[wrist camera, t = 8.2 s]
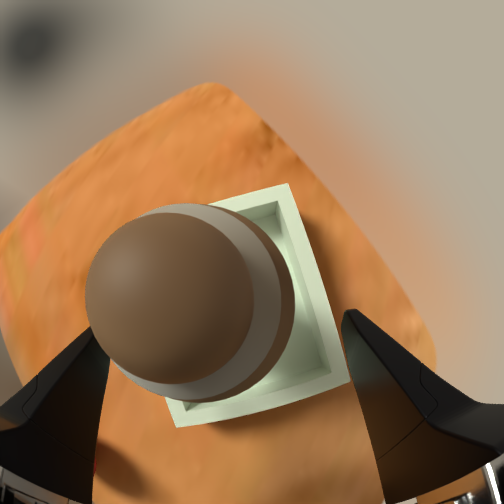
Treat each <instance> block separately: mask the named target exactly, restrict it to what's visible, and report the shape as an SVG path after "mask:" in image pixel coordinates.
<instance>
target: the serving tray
mask: <svg viewBox="0 0 504 504" xmlns="http://www.w3.org/2000/svg"><path fill="white" fill-rule="evenodd" d="M207 205H213V206H218V207H222V208H225V209H228V210H231V211H234V212H236V213H238V214H240V215H242V216H244V217H246V218H248V219H249V220H250V221H252V222H253V223H255V224H256V225H258V226H259V227H260V228H261V229H262V230H263V231H264V232H265V233H266V234H267V235H268V236H269V237H270V238H271V239H272V241H273V242H274V243H275V244H276V246H277V247H278V249H279V250H280V252H281V254H282V255H283V257H284V259H285V262H286V264H287V266H288V268H289V271H290V275H291V278H292V281H293V287H294V293H295V315H294V323H293V327H292V331H291V335H290V338H289V341H288V343H287V346H286V348H285V350H284V352H283V353H282V355H281V357H280V359H279V360H278V362H277V363H276V364H275V366H274V367H273V368H272V369H271V371H270V372H269V373H268V374H267V375H266V376H265V377H264V378H263V379H262V380H261V381H259V382H258V383H257V384H255V385H254V386H252V387H251V388H250V389H248V390H246V391H244V392H242V393H240V394H238V395H236V396H233V397H230V398H228V399H225V400H220V401H215V402H206V403H193V402H184V401H179V400H174V399H171V398H168V397H165V399H166V402H167V405H168V407H169V410H170V413H171V415H172V418H173V421H174V423H175V426H176V428H177V427H185V426H192V425H198V424H204V423H210V422H216V421H221V420H226V419H231V418H235V417H240V416H244V415H248V414H253V413H257V412H260V411H264V410H268V409H272V408H275V407H279V406H282V405H286V404H289V403H292V402H295V401H298V400H301V399H305V398H308V397H310V396H313V395H316V394H319V393H322V392H325V391H327V390H330V389H333V388H335V387H338V386H340V385H343V384H345V383H348V382H350V381H351V380H350V376H349V372H348V369H347V365H346V361H345V357H344V353H343V350H342V346H341V342H340V339H339V335H338V332H337V328H336V325H335V321H334V318H333V315H332V311H331V308H330V305H329V301H328V298H327V295H326V292H325V288H324V285H323V282H322V279H321V276H320V273H319V270H318V267H317V264H316V260H315V257H314V255H313V252H312V249H311V246H310V243H309V240H308V237H307V234H306V231H305V228H304V226H303V223H302V220H301V217H300V214H299V212H298V209H297V206H296V204H295V201H294V198H293V196H292V193H291V190H290V188H289V185H288V183H286V184H282V185H278V186H274V187H270V188H266V189H262V190H258V191H254V192H251V193H247V194H243V195H239V196H236V197H232V198H228V199H225V200H221V201H218V202H214V203H211V204H207Z"/></svg>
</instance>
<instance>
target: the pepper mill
mask: <svg viewBox="0 0 504 504" xmlns="http://www.w3.org/2000/svg"><path fill="white" fill-rule="evenodd" d="M85 303H86V311H87V316H88V320H89V323H90V326H91V329H92V331H93V333H94V336H95V338H96V339H97V341H98V343H99V344H100V346H101V347H102V349H103V350H104V351H105V353H106V354H107V355H108V356H109V357H110V358H111V360H112V361H113V362H114V363H115V365H116V366H117V367H118V368H119V369H120V370H121V371H122V372H123V373H124V374H125V375H126V376H127V377H128V378H129V379H131V380H132V381H133V382H135V383H136V384H138V385H139V386H141V387H143V388H145V389H146V390H148V391H150V392H153V393H156V394H158V395H161V396H165V397H168V398H171V399H174V400H179V401H184V402H193V403H206V402H215V401H220V400H225V399H228V398H230V397H233V396H236V395H238V394H240V393H242V392H244V391H246V390H248V389H250V388H251V387H252V386H254V385H255V384H257V383H258V382H259V381H261V380H262V379H263V378H264V377H265V376H266V375H267V374H268V373H269V372H270V371H271V369H272V368H273V367H274V366H275V364H276V363H277V362H278V360H279V359H280V357H281V355H282V353H283V352H284V350H285V348H286V346H287V343H288V341H289V338H290V335H291V331H292V327H293V323H294V315H295V293H294V287H293V281H292V278H291V275H290V271H289V268H288V266H287V264H286V262H285V259H284V257H283V255H282V254H281V252H280V250H279V249H278V247H277V246H276V244H275V243H274V242H273V241H272V239H271V238H270V237H269V236H268V235H267V234H266V233H265V232H264V231H263V230H262V229H261V228H260V227H259V226H258V225H256V224H255V223H253V222H252V221H250V220H249V219H248V218H246V217H244V216H242V215H240V214H238V213H236V212H234V211H231V210H228V209H225V208H222V207H218V206H213V205H204V204H189V203H184V204H173V205H167V206H163V207H160V208H157V209H154V210H151V211H149V212H147V213H145V214H143V215H141V216H139V217H138V218H136V219H134V220H132V221H130V222H128V223H126V224H125V225H123V226H122V227H120V228H119V229H117V230H116V231H115V232H114V233H113V234H112V235H111V236H110V237H109V238H108V239H107V240H106V241H105V242H104V243H103V245H102V246H101V248H100V249H99V250H98V252H97V254H96V255H95V257H94V259H93V261H92V264H91V266H90V269H89V272H88V276H87V281H86V288H85Z"/></svg>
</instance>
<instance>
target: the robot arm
mask: <svg viewBox="0 0 504 504" xmlns="http://www.w3.org/2000/svg"><path fill="white" fill-rule="evenodd" d="M341 332H342V337H343V342H344V347H345V351H346V356H347V361H348V366H349V370H350V373H351V376H352V379H353V382H354V386H355V389H356V392H357V395H358V399H359V402H360V405H361V408H362V412H363V415H364V419H365V422H366V426H367V429H368V433H369V436H370V440H371V444H372V448H373V451H374V455H375V459H376V464H377V468H378V472H379V476H380V480H381V484H382V489H383V493H384V498H385V502H386V504H396V503H399V502H403V501H406V500H409V499H412V498H415V497H416V499H417V503H415V504H504V404H485V403H480V402H477V401H474V400H473V399H471V398H469V397H468V396H467V395H465V394H464V393H462V392H461V391H459V390H458V389H456V388H455V387H453V386H452V385H450V384H449V383H447V382H446V381H444V380H443V379H442V378H440V377H439V376H438V375H437V374H435V373H434V372H433V371H432V370H430V369H429V368H428V367H427V366H425V365H424V364H423V363H421V361H419V360H418V359H417V358H416V357H415V356H413V355H412V354H411V353H410V352H409V351H407V350H406V349H405V348H404V347H403V346H401V345H400V344H399V343H398V342H396V341H395V340H394V339H393V338H392V337H390V336H389V335H388V334H387V333H386V332H384V331H383V330H382V329H381V328H379V327H378V326H377V325H376V324H374V323H373V322H372V321H371V320H370V319H368V318H367V317H366V316H365V315H363V314H362V313H361V312H360V311H358V310H357V309H348V310H345V312H344V315H343V320H342V324H341ZM109 365H110V357H109V356H108V355H107V354H106V353H105V351H104V350H103V349H102V347H101V346H100V344H99V343H98V341H97V339H96V338H95V336H94V333H93V331H92V329H91V326H90V327H88V328H87V329H86V330H85V331H84V332H83V333H82V334H81V335H79V336H78V337H77V338H76V339H75V340H74V341H73V342H72V343H70V344H69V345H68V346H67V347H66V348H65V349H64V350H63V351H62V352H61V353H59V354H58V355H57V356H56V357H55V358H54V359H53V360H52V361H51V362H50V363H49V364H48V365H46V366H45V367H44V368H43V369H42V370H41V371H40V372H39V373H38V375H36V376H35V377H34V378H33V379H32V380H31V381H30V382H28V383H27V384H26V385H25V386H24V387H23V388H22V389H21V390H20V391H18V392H17V393H16V394H15V395H14V396H13V397H11V398H10V399H9V400H8V401H6V402H5V403H4V404H3V405H2V406H0V504H68V502H69V499H70V500H73V501H76V502H79V503H82V504H92V489H93V474H94V461H95V452H96V443H97V436H98V429H99V422H100V416H101V410H102V404H103V399H104V394H105V389H106V384H107V379H108V373H109Z"/></svg>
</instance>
